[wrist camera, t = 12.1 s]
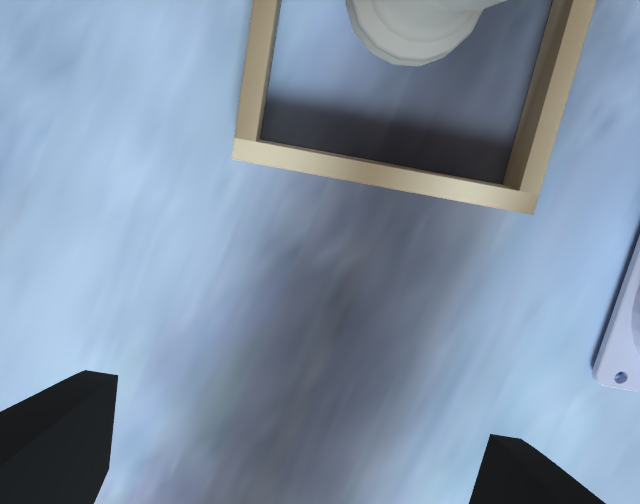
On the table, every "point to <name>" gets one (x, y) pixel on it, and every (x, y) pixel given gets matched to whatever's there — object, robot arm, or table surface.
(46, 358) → the table surface
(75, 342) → the table surface
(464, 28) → the rook chess piece
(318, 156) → the beige square frame
